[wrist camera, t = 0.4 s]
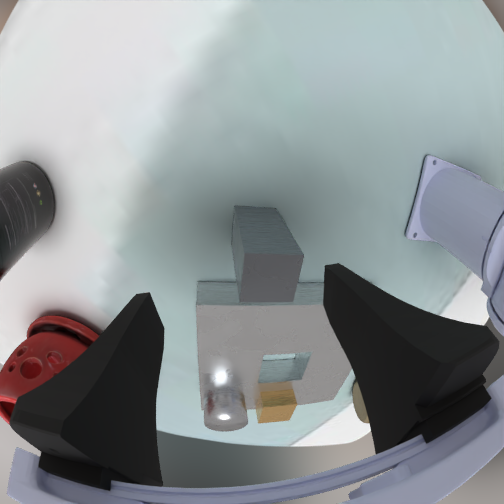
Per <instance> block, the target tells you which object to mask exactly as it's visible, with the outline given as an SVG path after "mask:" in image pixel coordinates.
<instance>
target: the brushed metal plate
mask: <svg viewBox="0 0 504 504" xmlns="http://www.w3.org/2000/svg"><path fill="white" fill-rule="evenodd" d="M370 283H371V282H370ZM371 284H372V283H371ZM323 293H324V283H298V284H297V288H296V292H295V297H294V301H293V302H239V296H238V288H237V282H201V281H198V286H197V302H196V313H197V343H198V364H199V381H200V395H201V408H202V410H204V424H205V426H206V427H207V428H209V429H212V430H215V431H234V430H238V429H241V428H243V427H245V426H246V425H247V424H248V417H247V409H256V413H257V419H258V423H268V422H278V421H287V420H290V418H291V416H292V414H293V412H294V410H295V408H296V406H297V405H302V404H310V403H316V402H323V401H329V400H333V399H334V398H335V396H336V394H337V393H338V391H339V389H340V388H341V386H342V385H343V383H344V381H345V379H346V378H347V376H348V374H349V373H350V371H351V369H352V367H351V365H350V362H349V360H348V358H347V356H346V355H345V353H344V351H343V349H342V347H341V345H340V343H339V341H338V339H337V337H336V335H335V333H334V331H333V329H332V327H331V325H330V323H329V320H328V317H327V315H326V312H325V309H324V306H323ZM290 353H296V356H295V359H286V360H269V361H262V360H263V356H264V355H272V354H290Z"/></svg>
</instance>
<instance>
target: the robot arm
mask: <svg viewBox="0 0 504 504" xmlns="http://www.w3.org/2000/svg"><path fill="white" fill-rule="evenodd" d="M433 160H434V163H433ZM414 233H415V234H414ZM405 235H406V237H407V238H408V239H411V240H422V241H433V242H437V243H439V244H440V245H441V246H442V247H444V248H445V249H446V250H447V251H449V252H450V253H451V254H452V255H454V256H455V257H456V258H457V259H459V260H460V261H461V262H462V263H463V264H464V265H466V266H467V267H468V268H469V269H470V270H471V271H473V272H474V273H475V274H476V275H477V276H478V277H479V278H480V279H482V280H483V285H482V288H481V290H482V291H483V292H484V293H485V294H486V295H487V296H488V300H487V311H488V314H489V316H490V318H491V321H492V323H493V324H494V326H495V328H496V329H497V330H498V331H499V332H500V333H501V334H502V335H503V336H504V191H502V190H500V189H498V188H496V187H494V186H492V185H490V184H488V183H485V182H483V181H481V176H479V175H477V174H475V173H473V172H471V171H468V170H466V169H464V168H461V167H459V166H457V165H454V164H452V163H449V162H447V161H444V160H442V159H439V158H437V157H434V156H431V155H427V156H426V158H425V161H424V166H423V171H422V175H421V180H420V184H419V188H418V192H417V196H416V199H415V203H414V207H413V210H412V214H411V217H410V221H409V224H408V227H407V230H406V234H405ZM323 306H324V309H325V312H326V315H327V317H328V320H329V323H330V325H331V327H332V329H333V331H334V333H335V335H336V337H337V339H338V341H339V343H340V345H341V347H342V349H343V351H344V353H345V355H346V356H347V358H348V360H349V362H350V365H351V367H352V369H353V371H354V374H355V377H356V380H357V383H358V386H359V388H360V391H361V395H362V398H363V401H364V404H365V408H366V412H367V415H368V419H369V423H370V427H371V432H372V436H373V441H374V446H375V452H376V455H374V456H371V457H368V458H366V459H363V460H360V461H357V462H354V463H352V464H348V465H345V466H342V467H339V468H335V469H332V470H328V471H325V472H321V473H317V474H313V475H308V476H304V477H300V478H295V479H290V480H284V481H279V482H272V483H265V484H258V485H249V486H240V487H226V488H170V487H162V486H163V481H162V476H161V470H160V464H159V456H158V447H157V433H156V397H157V388H158V382H159V375H160V369H161V363H162V356H163V350H164V326H163V324H162V322H161V319H160V317H159V315H158V312H157V310H156V307H155V305H154V302H153V300H152V297H151V294H150V292H149V293H141V294H136V295H135V296H134V297H133V298H132V299H131V300H130V302H129V303H128V304H127V305H126V306H125V307H124V308H123V310H122V311H121V312H120V313H119V314H118V315H117V317H116V318H115V319H114V320H113V321H112V323H111V324H110V325H109V326H108V327H107V328H106V329H105V330H104V331H103V333H102V334H101V335H100V336H99V337H98V338H97V339H96V340H95V341H94V342H93V343H92V344H91V345H90V346H89V347H88V348H87V349H86V350H85V351H84V352H83V353H82V354H81V355H80V356H79V357H78V358H77V359H75V360H74V361H73V362H72V363H70V364H69V365H68V366H67V367H65V368H64V369H63V370H62V371H60V372H59V373H58V374H56V375H55V376H54V377H52V378H51V379H49V380H48V381H46V382H45V383H43V384H41V385H40V386H38V387H36V388H35V389H33V390H31V391H29V392H27V393H25V394H23V395H21V396H19V397H18V398H17V401H16V403H15V406H14V409H13V412H12V415H11V418H10V421H9V424H10V426H11V427H12V429H13V430H14V431H15V432H16V433H17V434H19V435H20V436H21V437H22V438H23V439H25V440H26V441H27V442H29V443H30V444H31V445H33V446H34V447H36V448H37V449H38V450H40V451H41V456H40V457H39V456H37V455H35V454H33V453H31V452H28V451H25V450H23V449H21V448H18V447H17V448H16V449H15V454H14V458H13V462H12V467H11V472H10V477H9V483H8V489H7V494H8V496H10V497H11V498H13V499H14V500H16V501H18V502H19V503H21V504H269V503H275V502H282V501H287V500H293V499H297V498H302V497H307V496H311V495H315V494H320V493H323V492H327V491H331V490H334V489H338V488H341V487H344V486H347V485H350V484H353V483H356V482H359V481H362V480H365V479H367V478H370V477H373V476H375V475H378V474H380V473H383V472H385V471H387V470H390V469H392V468H393V469H392V470H390V471H388V472H386V473H384V474H382V475H380V476H378V477H376V478H373V479H371V480H369V481H367V482H364V483H362V484H361V485H360V487H359V488H358V489H356V490H354V491H352V492H350V493H349V498H350V500H349V501H345V502H342V503H338V504H436V503H437V502H439V501H440V500H441V499H443V498H444V497H446V496H447V495H449V494H450V493H451V492H453V491H454V490H456V489H457V488H458V487H459V486H461V485H462V484H463V483H465V482H466V481H467V480H468V479H469V478H470V477H472V476H473V475H474V474H476V473H477V472H478V471H479V470H480V469H481V468H482V467H484V466H485V465H486V464H487V463H488V462H489V461H490V460H491V459H492V458H493V457H494V456H495V455H496V454H497V453H498V452H499V451H500V450H501V449H502V448H503V447H504V375H503V376H502V377H500V378H499V379H498V380H497V381H495V382H494V383H493V384H492V385H490V386H489V387H488V388H487V389H485V387H484V386H483V384H484V383H485V382H486V379H485V377H484V376H483V375H482V374H483V372H484V371H485V370H486V368H487V367H488V365H489V364H490V363H491V361H492V360H493V358H494V356H495V355H496V353H497V351H498V348H499V341H498V339H497V338H496V337H495V336H494V334H493V333H492V332H491V331H490V330H489V328H488V327H487V326H482V325H476V324H470V323H464V322H460V321H456V320H452V319H448V318H445V317H441V316H438V315H435V314H433V313H430V312H427V311H424V310H422V309H419V308H417V307H415V306H412V305H410V304H408V303H406V302H404V301H402V300H400V299H398V298H396V297H394V296H392V295H390V294H388V293H387V292H385V291H383V290H381V289H380V288H378V287H376V286H375V285H373V284H371V283H370V282H368V281H366V280H365V279H363V278H362V277H360V276H359V275H357V274H355V273H354V272H352V271H351V270H349V269H348V268H346V267H344V266H343V265H341V264H339V263H337V264H331V265H326V266H325V274H324V293H323Z"/></svg>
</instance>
